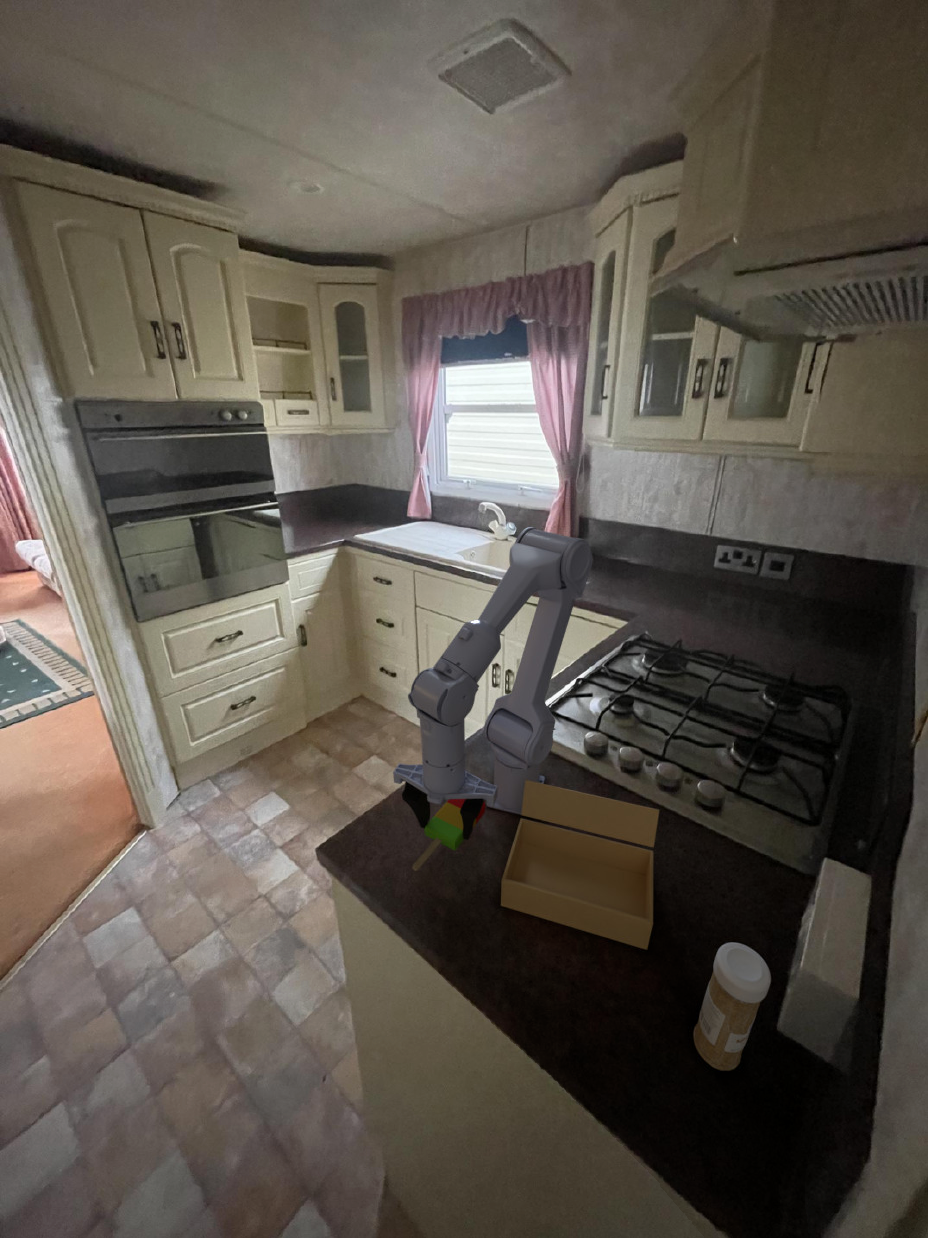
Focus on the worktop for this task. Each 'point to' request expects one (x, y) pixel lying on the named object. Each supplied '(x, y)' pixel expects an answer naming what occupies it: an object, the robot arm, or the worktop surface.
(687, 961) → the worktop surface
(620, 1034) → the worktop surface
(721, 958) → the sprinkles bottle
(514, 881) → the carton
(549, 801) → the flap
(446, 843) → the popsicle
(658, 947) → the worktop surface
